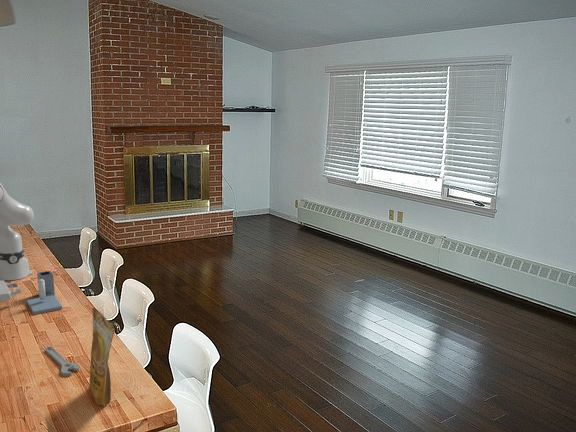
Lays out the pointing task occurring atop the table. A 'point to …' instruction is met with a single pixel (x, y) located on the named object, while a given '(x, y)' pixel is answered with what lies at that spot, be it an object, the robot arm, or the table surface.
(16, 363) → the table surface
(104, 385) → the pancake mix bag
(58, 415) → the table surface
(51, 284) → the steel collar
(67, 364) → the adjustable wrench
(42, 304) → the shaft base
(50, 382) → the table surface
